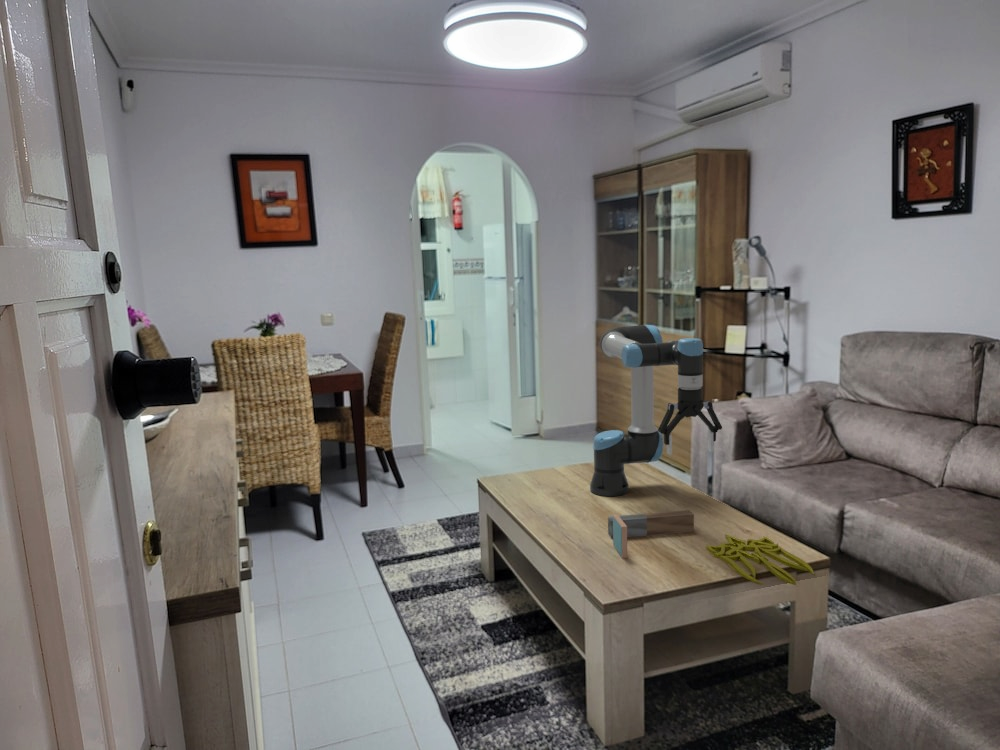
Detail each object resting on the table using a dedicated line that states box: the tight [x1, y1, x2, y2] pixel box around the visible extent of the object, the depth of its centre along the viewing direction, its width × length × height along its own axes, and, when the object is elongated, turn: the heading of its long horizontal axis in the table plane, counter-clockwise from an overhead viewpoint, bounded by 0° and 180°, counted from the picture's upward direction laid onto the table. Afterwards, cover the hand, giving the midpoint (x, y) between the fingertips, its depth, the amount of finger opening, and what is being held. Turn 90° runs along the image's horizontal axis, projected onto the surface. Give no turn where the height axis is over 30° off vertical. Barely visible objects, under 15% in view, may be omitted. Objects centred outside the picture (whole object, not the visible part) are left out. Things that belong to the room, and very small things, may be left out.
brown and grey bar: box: [607, 509, 695, 539], centre depth 224 cm, size 4×28×6 cm, turn 96°
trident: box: [705, 533, 815, 586], centre depth 201 cm, size 22×2×35 cm
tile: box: [612, 514, 628, 559], centre depth 210 cm, size 10×2×10 cm, turn 6°
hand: (689, 452), depth 216 cm, fingers open, 13 cm apart
